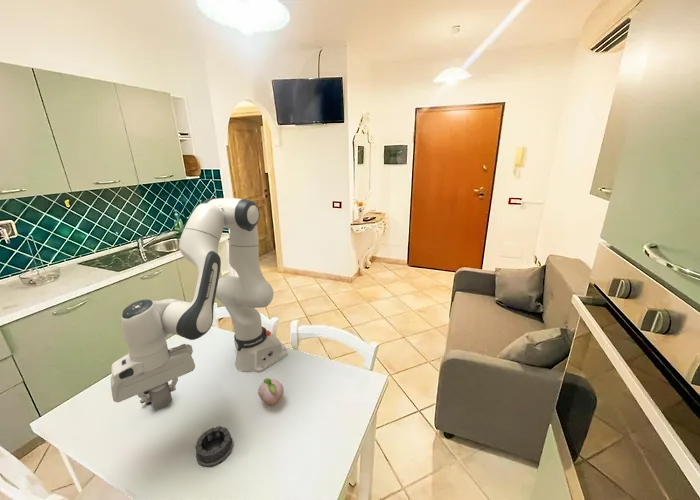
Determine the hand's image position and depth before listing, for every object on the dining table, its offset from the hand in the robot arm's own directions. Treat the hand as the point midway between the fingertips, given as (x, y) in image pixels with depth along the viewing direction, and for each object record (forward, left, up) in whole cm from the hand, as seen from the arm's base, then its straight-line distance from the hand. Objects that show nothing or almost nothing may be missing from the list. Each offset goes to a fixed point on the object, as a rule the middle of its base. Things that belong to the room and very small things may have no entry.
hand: (160, 395), depth 87 cm
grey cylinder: (0, 0, -3) cm, 3 cm away
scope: (0, -21, -19) cm, 28 cm away
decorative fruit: (-31, +6, -19) cm, 37 cm away
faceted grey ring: (-9, +11, -19) cm, 24 cm away
